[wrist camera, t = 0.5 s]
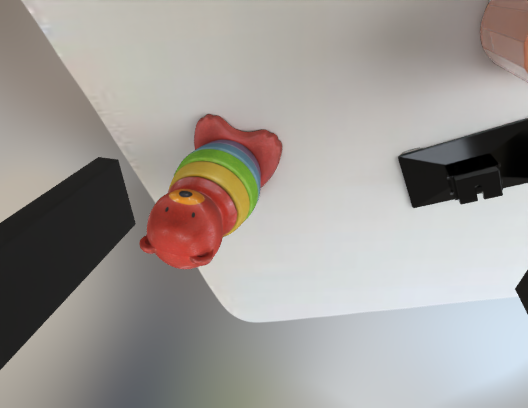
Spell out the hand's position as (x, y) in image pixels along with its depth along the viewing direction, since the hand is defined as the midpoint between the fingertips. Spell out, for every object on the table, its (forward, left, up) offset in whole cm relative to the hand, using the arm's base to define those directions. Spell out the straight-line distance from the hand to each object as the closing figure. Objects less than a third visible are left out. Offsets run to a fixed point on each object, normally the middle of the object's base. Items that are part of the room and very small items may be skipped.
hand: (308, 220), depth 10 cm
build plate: (+10, +14, -27) cm, 32 cm away
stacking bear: (+12, -12, -27) cm, 32 cm away
